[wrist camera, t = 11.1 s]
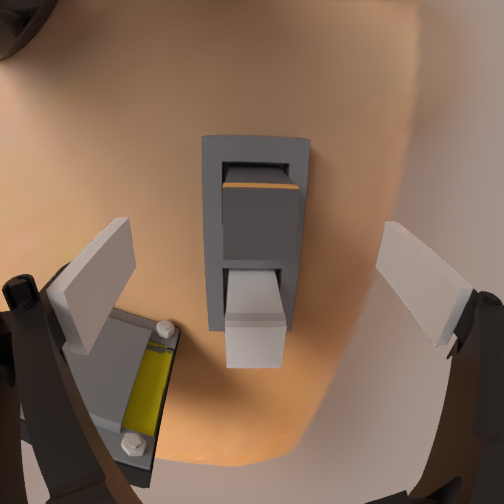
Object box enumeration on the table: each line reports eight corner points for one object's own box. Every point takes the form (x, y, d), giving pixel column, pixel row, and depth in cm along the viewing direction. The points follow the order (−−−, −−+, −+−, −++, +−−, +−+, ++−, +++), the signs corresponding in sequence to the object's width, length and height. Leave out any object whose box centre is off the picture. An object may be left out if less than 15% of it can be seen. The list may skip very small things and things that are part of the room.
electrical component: (184, 319, 35) (153, 466, 17) (172, 368, 39) (148, 491, 21) (62, 278, 32) (-21, 385, 14) (66, 332, 36) (9, 433, 18)
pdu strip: (207, 135, 26) (202, 136, 22) (301, 137, 26) (311, 140, 23) (211, 309, 34) (209, 330, 31) (286, 309, 35) (291, 330, 31)
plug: (229, 163, 26) (221, 188, 16) (278, 164, 26) (301, 190, 16) (228, 209, 28) (222, 260, 18) (275, 210, 28) (294, 261, 18)
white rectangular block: (229, 259, 30) (224, 326, 20) (273, 259, 31) (287, 326, 21) (229, 295, 32) (226, 368, 22) (270, 296, 33) (281, 367, 23)
